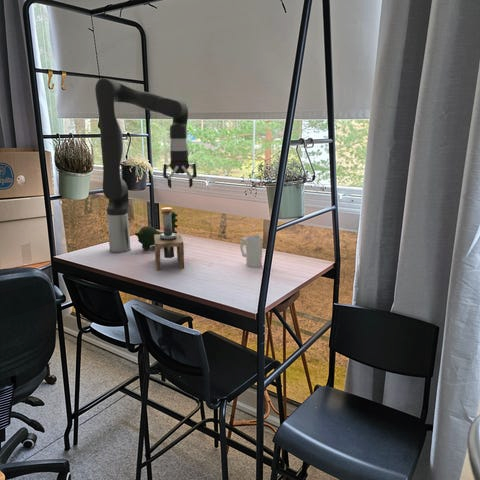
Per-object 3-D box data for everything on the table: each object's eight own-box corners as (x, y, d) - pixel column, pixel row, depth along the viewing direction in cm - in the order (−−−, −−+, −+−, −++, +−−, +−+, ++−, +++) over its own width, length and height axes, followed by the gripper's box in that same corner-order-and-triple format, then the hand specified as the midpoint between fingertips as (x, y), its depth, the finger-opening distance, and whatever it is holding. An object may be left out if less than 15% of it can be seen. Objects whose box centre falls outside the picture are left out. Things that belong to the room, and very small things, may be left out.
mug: (265, 264, 178) (265, 236, 175) (256, 268, 173) (256, 239, 170) (245, 260, 184) (245, 233, 181) (236, 264, 178) (235, 236, 175)
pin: (161, 259, 175) (158, 210, 170) (160, 254, 181) (158, 207, 176) (178, 258, 177) (175, 209, 171) (176, 253, 183) (174, 206, 178)
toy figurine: (167, 243, 217) (128, 250, 198) (168, 206, 214) (128, 209, 194) (181, 246, 212) (141, 253, 192) (182, 208, 208) (141, 211, 188)
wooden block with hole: (156, 270, 171) (155, 244, 168) (155, 259, 186) (154, 234, 183) (184, 268, 173) (183, 242, 171) (180, 257, 188) (179, 233, 186)
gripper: (162, 150, 177) (164, 189, 181) (196, 149, 180) (197, 188, 184) (161, 149, 184) (163, 187, 188) (194, 148, 187) (195, 185, 191)
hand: (180, 187), depth 186 cm, fingers open, 8 cm apart
